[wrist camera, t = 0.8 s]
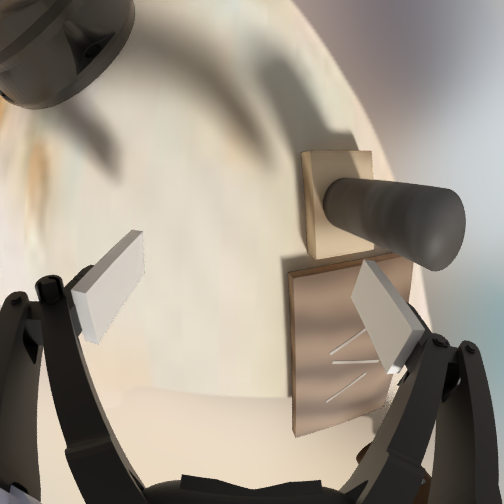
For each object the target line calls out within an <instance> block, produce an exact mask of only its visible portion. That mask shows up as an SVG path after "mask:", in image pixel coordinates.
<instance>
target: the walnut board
mask: <svg viewBox="0 0 504 504" xmlns="http://www.w3.org/2000/svg"><path fill="white" fill-rule="evenodd" d="M364 259H365V260H372V261H375V262H376V264H377V265H378V266H379V267H380V269H381V270H382V271H383V272H384V274H385V275H386V276H387V278H388V279H389V280H390V281H391V283H392V284H393V285H394V287H395V288H396V289H397V291H398V292H399V293H400V295H401V296H402V297H403V299H404V300H405V302H409V295H410V288H411V280H412V271H413V262H412V261H410V260H408V259H406V258H404V257H402V256H400V255H398V254H395V253H389V254H384V255H379V256H374V257H369V258H364ZM364 259H359V260H354V261H349V262H343V263H338V264H333V265H327V266H322V267H316V268H311V269H305V270H299V271H294V272H288V282H289V302H290V326H291V356H292V430H293V433H294V435H295V437H300V436H303V435H307V434H310V433H314V432H316V431H320V430H323V429H326V428H329V427H332V426H335V425H338V424H341V423H344V422H346V421H349V420H352V419H354V418H357V417H359V416H362V415H364V414H367V413H369V412H372V411H374V410H376V409H378V408H381V407H383V405H384V402H385V399H386V396H387V393H388V390H389V386H390V383H391V379H392V376H393V374H386V372H385V370H384V367H383V365H382V363H381V361H380V358H379V356H378V354H377V352H376V349H375V347H374V345H373V343H372V341H371V338H370V336H369V334H368V332H367V330H366V328H365V326H364V323H363V321H362V319H361V317H360V315H359V313H358V311H357V309H356V307H355V305H354V303H353V301H352V299H351V295H352V292H353V290H354V287H355V284H356V281H357V278H358V275H359V272H360V269H361V266H362V263H363V260H364Z"/></svg>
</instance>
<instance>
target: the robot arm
mask: <svg viewBox="0 0 504 504" xmlns="http://www.w3.org/2000/svg"><path fill="white" fill-rule="evenodd" d="M134 18H135V7H134V3H133V0H0V95H1V96H2V97H3V98H4V99H5V100H6V101H8V102H9V103H11V104H14V105H17V106H20V107H23V108H27V109H43V108H48V107H51V106H54V105H57V104H59V103H61V102H63V101H65V100H67V99H69V98H71V97H72V96H74V95H76V94H77V93H79V92H80V91H82V90H83V89H84V88H86V87H87V86H88V85H89V84H91V83H92V82H93V81H94V80H95V79H96V78H97V77H98V76H99V75H101V74H102V73H103V72H104V70H105V69H106V68H107V67H108V66H109V65H110V64H111V63H112V61H113V60H114V59H115V58H116V56H117V55H118V54H119V52H120V51H121V49H122V48H123V46H124V44H125V43H126V41H127V39H128V37H129V35H130V33H131V30H132V27H133V24H134ZM144 273H145V264H144V238H143V231H137V230H131V231H130V232H129V233H128V234H127V235H126V236H125V237H123V238H122V239H121V240H120V241H119V242H118V243H117V244H116V245H115V246H114V247H113V248H112V249H111V250H110V251H109V252H108V253H107V254H106V255H105V256H103V257H102V258H101V259H100V260H99V261H98V262H97V263H96V264H95V265H89V266H87V267H85V268H84V269H82V270H81V271H80V272H79V273H78V274H77V275H76V276H75V277H74V278H73V280H71V281H70V282H69V283H68V284H67V285H66V286H65V287H64V286H63V281H62V279H61V277H59V276H57V275H48V276H45V277H42V278H41V279H39V280H38V281H37V282H36V284H35V289H36V292H37V295H38V299H39V301H29V299H28V296H27V294H26V293H25V292H22V291H18V292H13V293H11V294H10V295H9V296H8V297H7V298H6V299H5V301H4V303H3V306H2V308H1V310H0V504H41V503H40V502H41V488H40V475H39V465H38V451H37V400H38V385H39V375H40V366H41V358H42V352H43V346H44V354H45V360H46V366H47V372H48V376H49V382H50V387H51V392H52V396H53V400H54V404H55V408H56V412H57V416H58V419H59V422H60V425H61V429H62V432H63V435H64V438H65V441H66V445H67V449H65V455H66V459H67V462H68V465H69V467H70V470H71V472H72V474H73V477H74V479H75V481H76V484H77V486H78V488H79V490H80V492H81V494H82V497H83V498H84V501H85V503H86V504H413V501H414V499H415V497H416V495H417V493H418V490H419V488H420V486H421V483H422V481H423V478H424V475H425V469H424V468H422V467H421V463H422V460H423V457H424V455H425V452H426V448H427V446H428V443H429V440H430V437H431V434H432V430H433V427H434V424H435V420H436V437H435V452H434V463H433V471H432V479H431V486H430V492H429V498H428V504H502V499H501V494H500V490H499V486H498V481H499V473H498V472H499V470H498V449H497V448H498V447H497V435H496V427H495V419H494V413H493V407H492V401H491V395H490V390H489V386H488V381H487V377H486V373H485V369H484V365H483V361H482V357H481V354H480V351H479V349H478V347H477V346H476V345H475V344H474V343H472V342H470V341H462V343H461V344H460V346H459V347H458V348H456V347H452V346H450V344H449V342H448V340H446V339H445V337H443V336H441V335H439V334H436V333H432V332H431V331H430V330H429V328H428V327H427V325H426V324H425V322H424V321H423V320H422V318H421V317H420V315H418V313H417V311H416V310H415V308H414V307H413V306H411V305H410V304H409V303H408V302H405V300H404V299H403V297H402V296H401V295H400V293H399V292H398V291H397V289H396V288H395V287H394V285H393V284H392V283H391V281H390V280H389V279H388V278H387V276H386V275H385V274H384V272H383V271H382V270H381V269H380V267H379V266H378V265H377V264H376V262H375V261H372V260H365V259H364V260H363V263H362V266H361V269H360V272H359V275H358V278H357V281H356V284H355V287H354V290H353V292H352V295H351V299H352V301H353V303H354V305H355V307H356V309H357V311H358V313H359V315H360V317H361V319H362V321H363V323H364V326H365V328H366V330H367V332H368V334H369V336H370V338H371V341H372V343H373V345H374V347H375V349H376V352H377V354H378V356H379V358H380V361H381V363H382V365H383V367H384V370H385V372H386V374H394V373H399V372H400V371H401V369H402V368H403V366H404V365H406V367H407V369H408V370H407V371H406V373H405V374H404V376H403V377H402V379H401V380H400V381H399V383H398V384H397V385H398V386H399V385H400V386H399V388H398V391H397V393H396V395H395V398H394V400H393V402H392V404H391V406H390V408H389V411H388V413H387V415H386V417H385V419H384V421H383V423H382V425H381V427H380V429H379V430H378V432H377V434H376V436H375V438H374V440H373V442H372V443H371V445H370V447H369V449H368V450H367V452H366V454H365V455H364V457H363V459H362V460H361V462H360V464H359V465H358V467H357V468H356V470H355V471H354V473H353V474H352V476H351V477H350V479H349V480H348V481H347V482H346V484H345V485H344V486H343V487H342V488H341V489H340V490H339V491H337V490H334V489H331V488H327V487H322V485H321V480H316V481H302V482H288V483H283V484H279V485H275V486H270V487H265V488H260V489H248V488H244V487H240V486H237V485H233V484H230V483H227V482H223V481H220V480H217V479H210V478H202V477H195V476H189V475H183V474H182V477H181V480H174V481H167V482H163V483H158V484H155V485H153V486H150V487H149V488H145V486H144V484H143V483H142V481H141V480H140V478H139V477H138V475H137V474H136V472H135V471H134V469H133V468H132V466H131V464H130V463H129V461H128V459H127V457H126V455H125V454H124V452H123V450H122V448H121V446H120V444H119V442H118V440H117V438H116V436H115V434H114V432H113V430H112V428H111V425H110V423H109V421H108V419H107V417H106V414H105V412H104V410H103V407H102V405H101V402H100V400H99V397H98V395H97V392H96V390H95V387H94V384H93V382H92V379H91V376H90V373H89V370H88V367H87V364H86V361H85V358H84V355H83V351H82V348H81V345H80V341H79V338H78V336H79V335H80V333H81V332H82V333H83V336H84V339H85V341H88V342H91V343H95V344H98V345H99V343H100V342H101V340H102V338H103V337H104V335H105V333H106V332H107V330H108V329H109V327H110V325H111V324H112V322H113V320H114V319H115V317H116V316H117V314H118V313H119V311H120V309H121V308H122V306H123V305H124V303H125V302H126V300H127V299H128V297H129V296H130V294H131V293H132V291H133V290H134V288H135V287H136V285H137V284H138V282H139V281H140V279H141V278H142V276H143V275H144Z"/></svg>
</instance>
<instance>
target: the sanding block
mask: <svg viewBox="0 0 504 504" xmlns="http://www.w3.org/2000/svg"><path fill="white" fill-rule="evenodd" d="M301 158H302V169H303V181H304V194H305V209H306V227H307V248H308V254H309V255H311V256H312V257H313V258H315V259H316V260H318V259H323V258H329V257H335V256H341V255H346V254H352V253H357V252H363V251H368V250H374V244H376V245H378V246H380V247H382V248H385V249H387V250H389V251H391V252H393V253H395V254H398V255H400V256H402V257H404V258H406V259H408V260H410V261H412V262H414V263H417V264H419V265H421V266H423V267H425V268H427V269H429V270H431V271H440V270H443V269H444V268H446V267H447V266H448V265H450V264H451V263H452V261H453V260H454V259H455V257H456V256H457V254H458V252H459V250H460V248H461V245H462V242H463V238H464V234H465V226H466V219H465V211H464V207H463V204H462V201H461V199H460V198H459V196H458V195H457V194H456V193H455V192H454V191H452V190H450V189H446V188H439V187H433V186H425V185H418V184H409V183H401V182H392V181H382V180H373V164H372V151H352V150H327V151H306V152H301Z"/></svg>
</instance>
